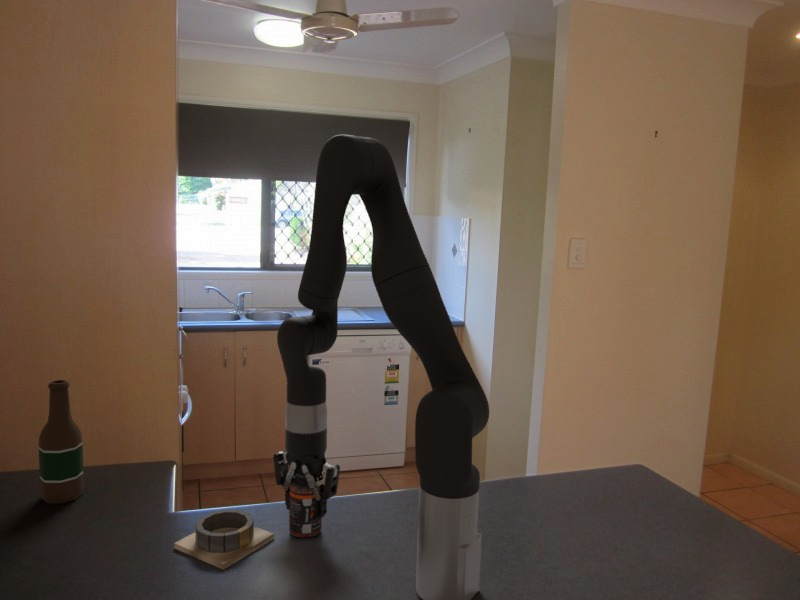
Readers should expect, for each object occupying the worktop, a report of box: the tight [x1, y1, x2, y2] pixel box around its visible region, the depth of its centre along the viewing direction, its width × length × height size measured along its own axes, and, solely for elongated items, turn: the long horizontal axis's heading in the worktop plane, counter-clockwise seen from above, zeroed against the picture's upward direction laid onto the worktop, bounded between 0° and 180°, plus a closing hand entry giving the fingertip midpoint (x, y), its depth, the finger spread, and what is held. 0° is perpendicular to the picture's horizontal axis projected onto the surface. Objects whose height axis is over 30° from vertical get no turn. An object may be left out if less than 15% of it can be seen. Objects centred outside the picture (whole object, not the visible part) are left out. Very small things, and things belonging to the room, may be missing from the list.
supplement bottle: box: [288, 473, 323, 539], centre depth 113 cm, size 6×6×11 cm
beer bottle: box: [38, 379, 85, 505], centre depth 123 cm, size 8×8×24 cm
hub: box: [173, 509, 275, 571], centre depth 108 cm, size 12×12×4 cm
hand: (305, 512), depth 113 cm, fingers closed on supplement bottle, 6 cm apart
